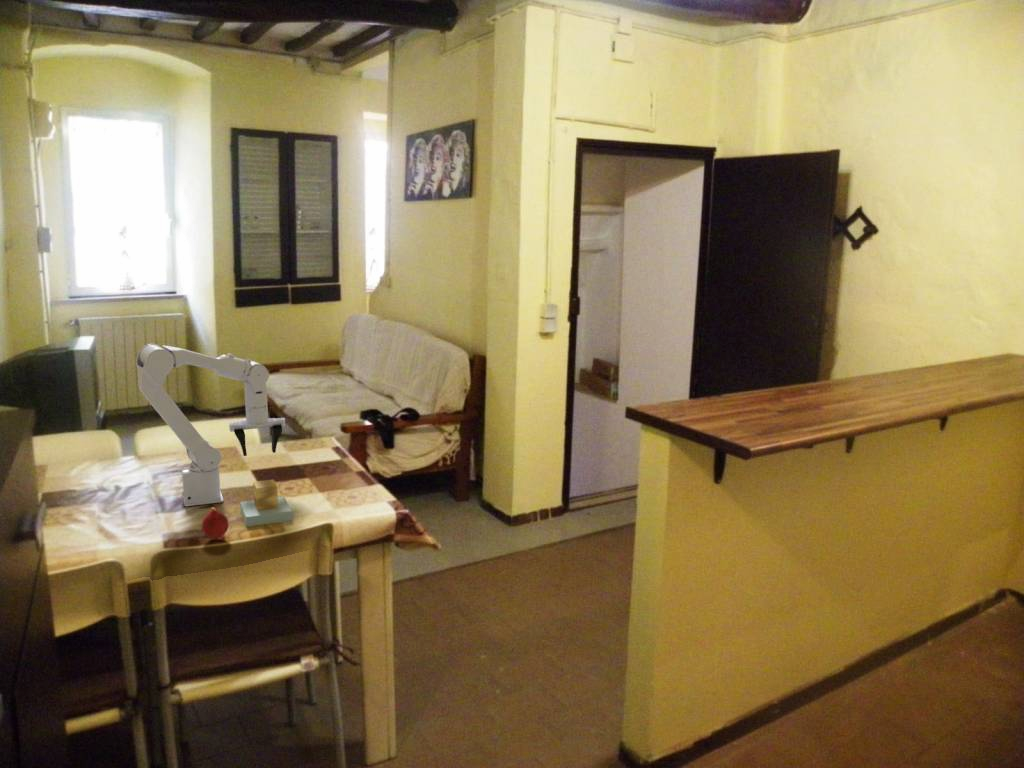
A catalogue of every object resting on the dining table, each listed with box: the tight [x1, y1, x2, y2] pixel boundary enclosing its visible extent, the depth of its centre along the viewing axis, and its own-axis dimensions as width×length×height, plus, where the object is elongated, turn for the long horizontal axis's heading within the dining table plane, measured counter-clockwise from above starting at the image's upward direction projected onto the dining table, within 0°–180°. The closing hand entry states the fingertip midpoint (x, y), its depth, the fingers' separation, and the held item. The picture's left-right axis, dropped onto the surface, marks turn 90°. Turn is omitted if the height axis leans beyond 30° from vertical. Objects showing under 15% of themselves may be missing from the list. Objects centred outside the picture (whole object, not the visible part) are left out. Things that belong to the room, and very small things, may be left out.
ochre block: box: [253, 479, 279, 511], centre depth 196 cm, size 5×5×6 cm
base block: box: [239, 496, 293, 528], centre depth 197 cm, size 11×11×3 cm
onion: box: [201, 507, 229, 541], centre depth 181 cm, size 6×6×8 cm
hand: (259, 453), depth 213 cm, fingers open, 7 cm apart
